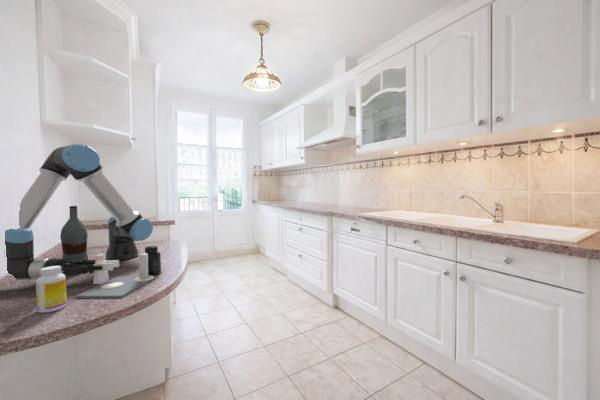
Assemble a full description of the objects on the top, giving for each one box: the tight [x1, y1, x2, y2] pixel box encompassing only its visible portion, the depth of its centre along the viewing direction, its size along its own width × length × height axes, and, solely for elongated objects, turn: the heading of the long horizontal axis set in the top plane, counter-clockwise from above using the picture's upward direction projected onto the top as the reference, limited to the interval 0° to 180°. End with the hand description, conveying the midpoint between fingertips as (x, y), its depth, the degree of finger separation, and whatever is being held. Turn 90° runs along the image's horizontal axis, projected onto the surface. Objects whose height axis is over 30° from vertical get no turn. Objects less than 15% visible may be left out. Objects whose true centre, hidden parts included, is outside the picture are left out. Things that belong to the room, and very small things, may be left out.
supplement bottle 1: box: [35, 266, 68, 314], centre depth 80 cm, size 7×7×13 cm
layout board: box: [75, 252, 157, 299], centre depth 98 cm, size 20×16×11 cm
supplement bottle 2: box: [144, 245, 162, 276], centre depth 114 cm, size 7×7×12 cm
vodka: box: [59, 205, 89, 275], centre depth 117 cm, size 9×9×30 cm
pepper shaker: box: [92, 253, 110, 285], centre depth 103 cm, size 5×5×11 cm
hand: (115, 265), depth 104 cm, fingers closed on pepper shaker, 4 cm apart
